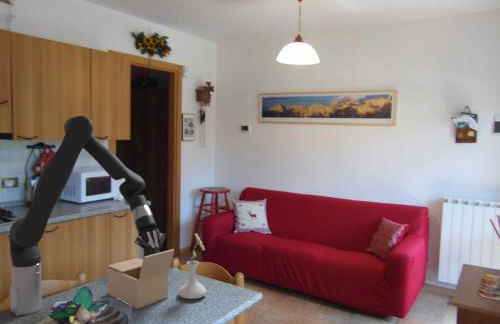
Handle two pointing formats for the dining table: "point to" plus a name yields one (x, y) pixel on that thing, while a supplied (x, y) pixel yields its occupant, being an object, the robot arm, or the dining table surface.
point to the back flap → (127, 265)
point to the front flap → (156, 264)
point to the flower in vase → (193, 279)
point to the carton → (137, 287)
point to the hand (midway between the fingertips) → (157, 258)
